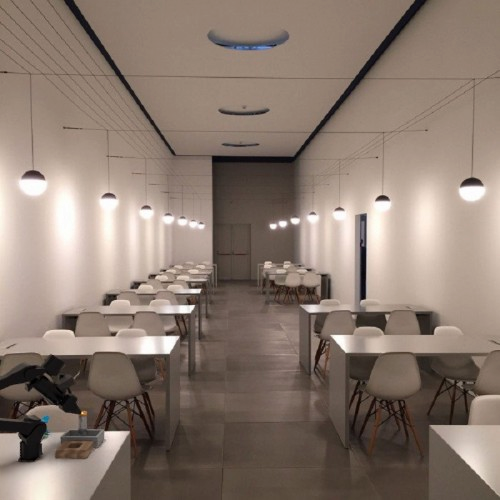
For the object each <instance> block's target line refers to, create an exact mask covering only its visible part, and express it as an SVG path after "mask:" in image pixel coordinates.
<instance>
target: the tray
mask: <svg viewBox="0 0 500 500" xmlns="http://www.w3.org/2000/svg"><path fill="white" fill-rule="evenodd" d="M59 440H60V445H61V444H62V443H63V442H64V441H94V449H98V448H99V447H100V446H101V444H102V443H103V442H104V441H105V429H94V428H93V429H92V428H91V429H90V428H89V429H88V428H87V436H79V433H78V429H77V428H73V429H72V428H70V429H69V428H68V429H67V430H66V431H65V432H63V434H62V435H61V436H60V439H59Z"/></svg>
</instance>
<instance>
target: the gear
mask: <svg viewBox="0 0 500 500" xmlns="http://www.w3.org/2000/svg"><path fill="white" fill-rule="evenodd" d="M50 418H51V416H49V414H46V415H43V416H42V418H40V419H41V420H42V421H43V422H45V423H46V424H48V423H49V420H50ZM47 433H49V434H50V433H51V432H50V431H49V430H48V429H47V430H46V432H45V434H44V435H43V438H45V437H48V438H49V436H48V435H46V434H47Z"/></svg>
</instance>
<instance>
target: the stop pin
mask: <svg viewBox="0 0 500 500" xmlns="http://www.w3.org/2000/svg"><path fill="white" fill-rule="evenodd" d="M81 411H82V414H81V415H78V414H77V418H78V419H77V421H78V422H77V423H78V433H79V436H87V429H88V424H87V423H88V421H87V417H88V416H87V415H88V411H87V410H81Z"/></svg>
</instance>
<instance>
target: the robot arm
mask: <svg viewBox="0 0 500 500" xmlns="http://www.w3.org/2000/svg"><path fill="white" fill-rule="evenodd" d="M65 366H66V363H65V362H64V361H63V360H62V359H60V358H58V357H57V356H56V355H54V354H52V353H50V354H49V355H48V356H47V358H46V359H45V360H44V362H43V363H41V365H40V364H30V363H27V362H20V363H19V364H17V365H16V366H14V367H13V368H11V369H10V370H9V371H8V372H7V373H4V374H3V375H1V376H0V391H2V390H4V389H6V388H9V387H11V386H12V387H13V386H14V385H22V384H24V390H25V391H27V392H28V393H29V392H30V391H32V389H33V390H34V391H36V392H37V393H38V394H39V395H40V396H41V397H43V400H44V401H46V402H47V403H49V404H51V405H52V406H56V407H58V409H59V410H61V411H62V412H64V413H66V414H74V415H77V416H78V415H81V414H82V411H83V410H81V409H80V407H79V406H78V404H77V402H78V396H76V395H74V394H73V393H70V392H69V393H67V392H68V389H69V388H70V387H72V386H74V385H76V380H75V379H74V377H73V374H69V373H68V374H67V373H65V374H63V373H60V372H61V371H62V370H63V368H65ZM52 377H53V378H56V377H57V380H56V382H54V381H53V380H52V379H51V378H52ZM66 393H67V394H66ZM41 419H42V418H40V417H38V416H37V415H35V414H32V415H29V414H26V413H25V414H23V417H22V418H19V419H17V418H16V419H15V418H14V419H13V418H5V417H0V432H7V433H10V432H11V433H17V436H18V438H19V440H20V442H19V458H18V459H17V462H36V461H38V460H39V459H40V458H41V457H42V456H43V455H44V453H43V443H41V442H42V441H43V438H44V436H43V435H44V434H45V435H46V430H48V426H47V423H45V422H43V421H42V420H41Z"/></svg>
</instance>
